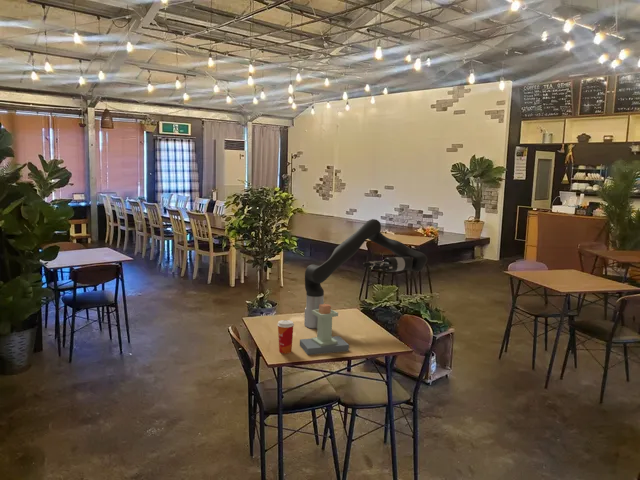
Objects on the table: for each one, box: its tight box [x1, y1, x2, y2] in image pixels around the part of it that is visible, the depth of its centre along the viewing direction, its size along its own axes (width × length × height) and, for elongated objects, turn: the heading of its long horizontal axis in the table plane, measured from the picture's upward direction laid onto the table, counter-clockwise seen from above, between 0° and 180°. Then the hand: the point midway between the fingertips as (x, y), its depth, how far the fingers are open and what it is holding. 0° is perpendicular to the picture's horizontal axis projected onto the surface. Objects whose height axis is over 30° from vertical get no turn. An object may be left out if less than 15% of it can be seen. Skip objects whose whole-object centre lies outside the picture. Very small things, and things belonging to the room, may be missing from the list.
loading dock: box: [299, 335, 350, 356], centre depth 237 cm, size 20×13×3 cm, turn 108°
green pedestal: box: [311, 308, 339, 346], centre depth 236 cm, size 9×9×15 cm
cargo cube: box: [319, 303, 332, 314], centre depth 235 cm, size 4×4×4 cm
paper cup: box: [277, 319, 295, 355], centre depth 231 cm, size 8×8×14 cm
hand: (368, 266), depth 257 cm, fingers open, 8 cm apart
